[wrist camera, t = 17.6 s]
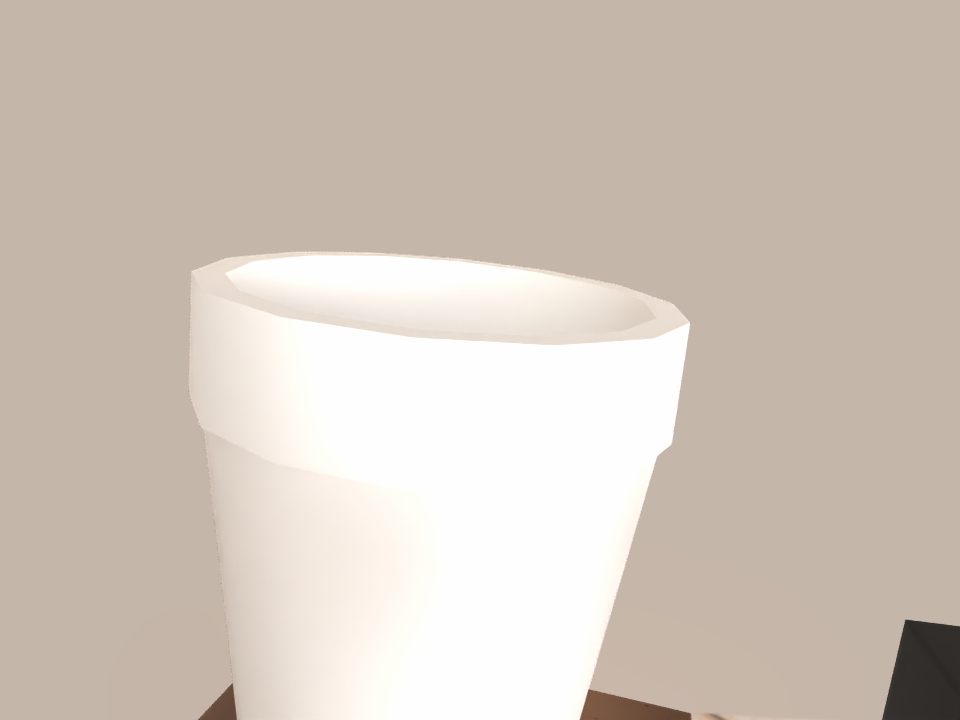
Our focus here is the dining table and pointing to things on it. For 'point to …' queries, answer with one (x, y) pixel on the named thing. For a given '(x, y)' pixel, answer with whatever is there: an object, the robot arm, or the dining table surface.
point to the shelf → (600, 716)
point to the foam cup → (423, 477)
